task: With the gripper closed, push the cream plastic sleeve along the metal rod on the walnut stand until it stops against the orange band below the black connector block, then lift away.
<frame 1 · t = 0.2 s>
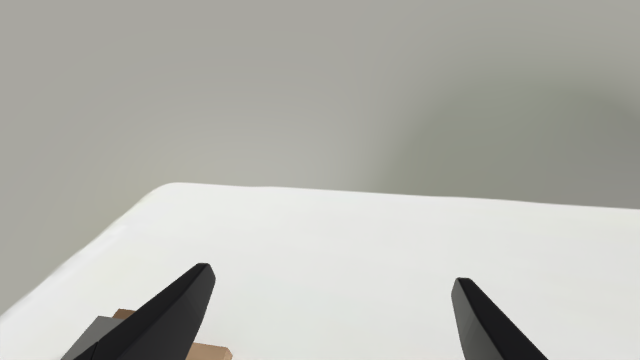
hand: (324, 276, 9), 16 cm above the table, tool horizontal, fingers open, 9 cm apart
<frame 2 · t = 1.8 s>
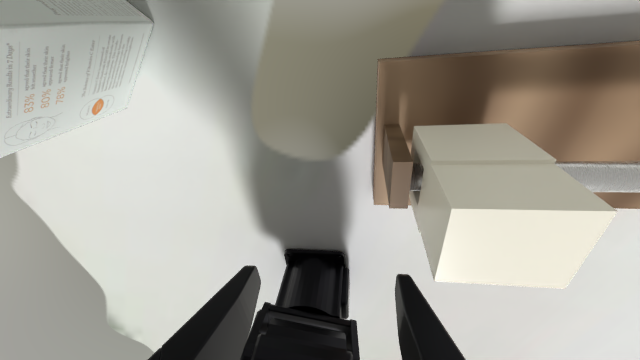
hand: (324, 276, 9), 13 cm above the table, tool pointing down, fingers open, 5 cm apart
rod stand: (533, 132, 18), on the table
sleeve: (474, 193, 13), point 8 cm above the table, slide at -6.5 cm
small box: (102, 40, 19), on the table
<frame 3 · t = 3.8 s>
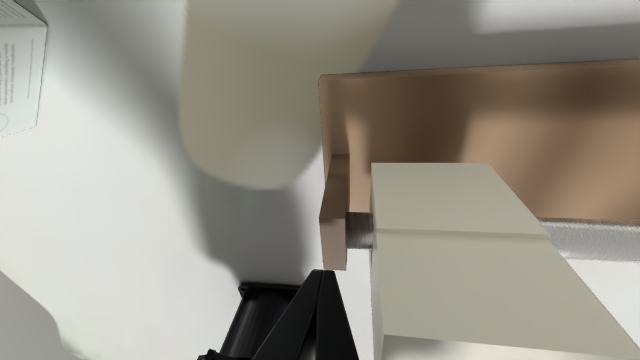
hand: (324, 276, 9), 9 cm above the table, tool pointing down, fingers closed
rod stand: (513, 165, 15), on the table
sleeve: (441, 263, 10), point 8 cm above the table, slide at -5.9 cm, touching gripper
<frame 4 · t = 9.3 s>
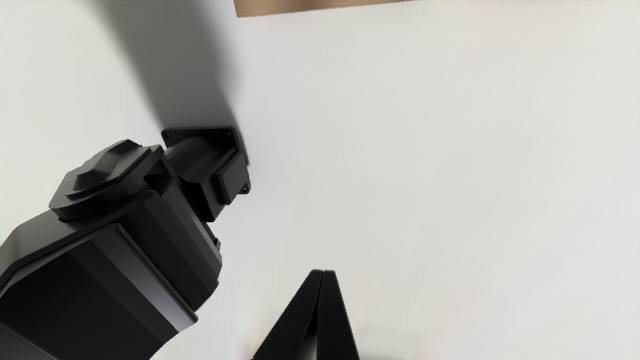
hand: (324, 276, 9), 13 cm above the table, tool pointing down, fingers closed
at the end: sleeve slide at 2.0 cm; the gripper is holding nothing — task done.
